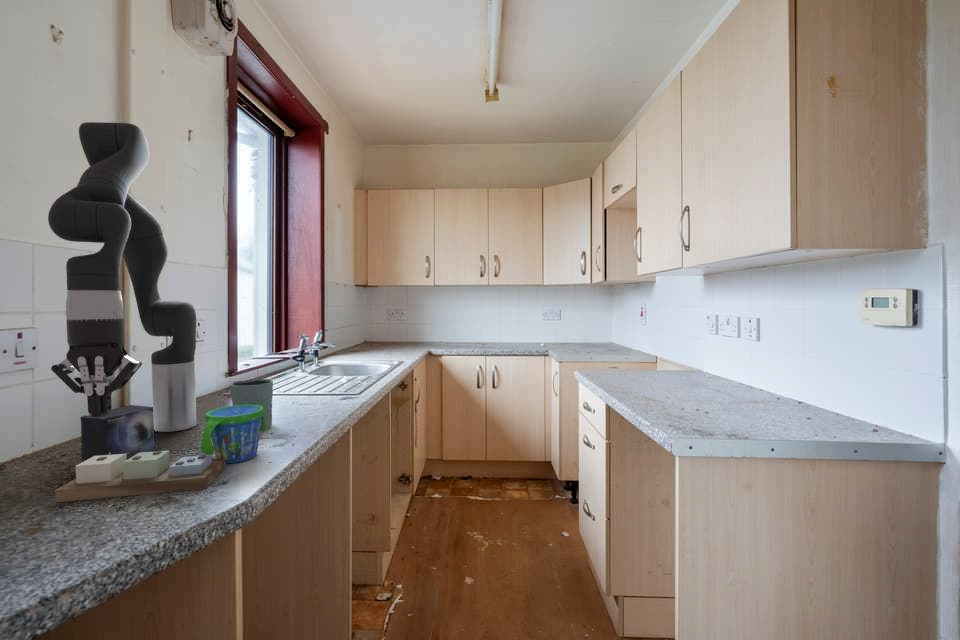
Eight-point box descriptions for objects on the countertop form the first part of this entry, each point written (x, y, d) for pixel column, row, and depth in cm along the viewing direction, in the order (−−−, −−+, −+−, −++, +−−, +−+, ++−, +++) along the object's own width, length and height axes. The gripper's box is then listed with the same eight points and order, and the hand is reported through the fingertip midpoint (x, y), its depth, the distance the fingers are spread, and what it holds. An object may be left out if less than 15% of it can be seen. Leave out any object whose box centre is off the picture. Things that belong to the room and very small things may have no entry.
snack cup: (224, 475, 83) (222, 421, 82) (182, 469, 86) (180, 417, 85) (284, 448, 97) (283, 403, 97) (247, 444, 101) (245, 400, 100)
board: (94, 478, 81) (94, 468, 81) (225, 467, 86) (225, 457, 86) (55, 502, 72) (55, 490, 72) (205, 488, 76) (204, 477, 76)
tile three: (182, 475, 82) (181, 455, 82) (212, 473, 83) (211, 453, 83) (169, 486, 77) (169, 465, 77) (201, 483, 78) (200, 462, 78)
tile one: (95, 475, 79) (94, 454, 79) (127, 472, 80) (126, 451, 80) (76, 486, 74) (75, 464, 74) (110, 483, 75) (109, 461, 75)
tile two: (139, 471, 81) (138, 451, 81) (170, 469, 82) (169, 448, 82) (123, 482, 76) (123, 460, 76) (156, 479, 77) (155, 458, 77)
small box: (106, 471, 85) (104, 418, 85) (79, 469, 86) (77, 416, 86) (156, 453, 95) (154, 405, 95) (132, 451, 97) (130, 404, 96)
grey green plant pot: (263, 432, 110) (261, 385, 109) (222, 433, 110) (220, 385, 109) (280, 422, 120) (279, 378, 119) (243, 422, 120) (242, 378, 119)
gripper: (150, 315, 81) (153, 408, 82) (66, 317, 79) (70, 413, 79) (127, 317, 74) (131, 418, 75) (33, 318, 71) (38, 424, 72)
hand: (100, 415), depth 77 cm, fingers closed
